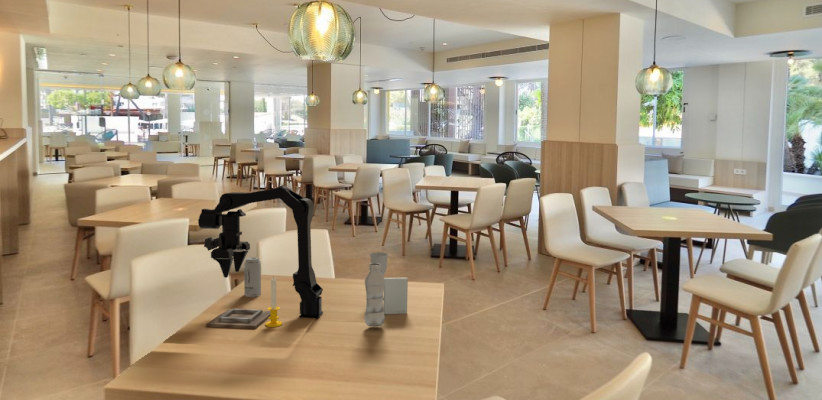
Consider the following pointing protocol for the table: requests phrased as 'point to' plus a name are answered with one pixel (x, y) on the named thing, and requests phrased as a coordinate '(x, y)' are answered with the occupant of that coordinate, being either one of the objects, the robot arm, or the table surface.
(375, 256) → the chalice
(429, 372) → the table surface
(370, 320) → the plastic bottle
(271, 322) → the candle
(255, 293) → the energy drink can
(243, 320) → the socket board
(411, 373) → the table surface
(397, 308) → the external hard drive
